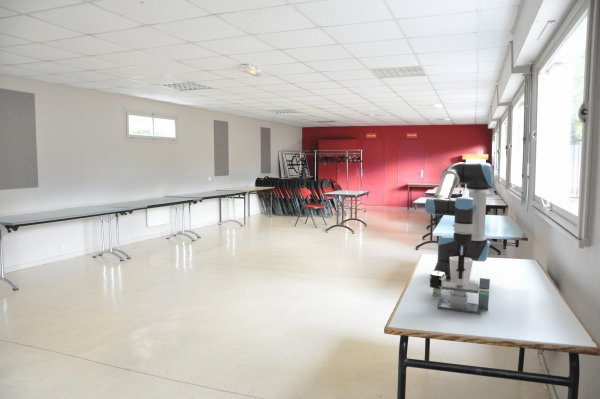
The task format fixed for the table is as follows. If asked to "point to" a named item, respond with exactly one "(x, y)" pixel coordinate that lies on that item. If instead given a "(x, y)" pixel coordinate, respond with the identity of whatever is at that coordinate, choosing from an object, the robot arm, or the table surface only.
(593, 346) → the table surface
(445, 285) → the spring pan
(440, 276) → the pneumatic valve
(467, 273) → the cup
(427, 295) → the table surface
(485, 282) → the stand
